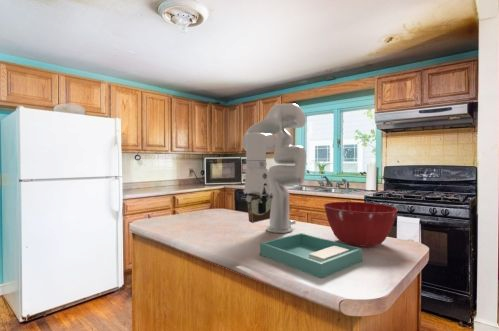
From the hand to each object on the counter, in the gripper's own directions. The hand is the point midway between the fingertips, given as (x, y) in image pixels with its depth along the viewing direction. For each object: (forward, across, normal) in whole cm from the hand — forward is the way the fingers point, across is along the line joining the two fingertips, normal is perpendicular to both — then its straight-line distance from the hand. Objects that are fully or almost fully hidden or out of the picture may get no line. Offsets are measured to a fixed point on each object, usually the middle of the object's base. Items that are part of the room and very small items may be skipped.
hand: (256, 211), depth 110 cm
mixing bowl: (+15, -22, -37) cm, 45 cm away
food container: (+3, +1, 0) cm, 3 cm away
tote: (+14, -22, -5) cm, 26 cm away
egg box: (+13, -30, -5) cm, 33 cm away
